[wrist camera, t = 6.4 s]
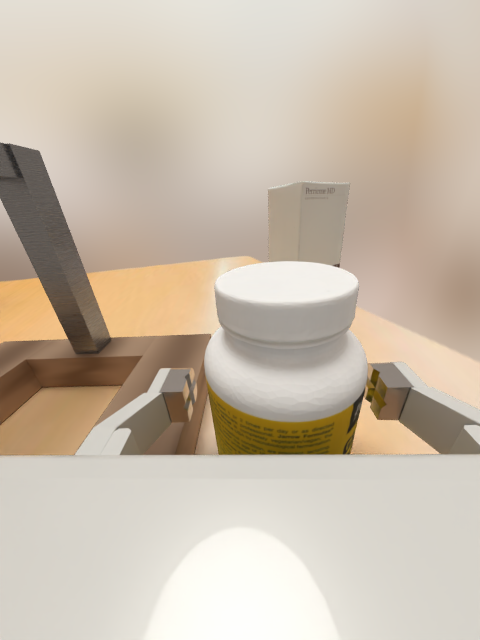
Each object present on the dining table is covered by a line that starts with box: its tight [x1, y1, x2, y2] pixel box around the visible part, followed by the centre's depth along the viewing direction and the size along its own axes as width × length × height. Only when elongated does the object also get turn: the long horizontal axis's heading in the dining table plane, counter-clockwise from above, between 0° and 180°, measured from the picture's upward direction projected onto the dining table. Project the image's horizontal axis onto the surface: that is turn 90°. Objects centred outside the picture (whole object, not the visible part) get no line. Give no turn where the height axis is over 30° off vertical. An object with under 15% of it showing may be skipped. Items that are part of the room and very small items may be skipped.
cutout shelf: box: [0, 334, 211, 455], centre depth 16 cm, size 20×12×3 cm, turn 88°
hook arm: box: [0, 143, 112, 354], centre depth 13 cm, size 2×12×17 cm, turn 178°
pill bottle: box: [204, 261, 368, 455], centre depth 10 cm, size 6×6×11 cm
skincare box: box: [268, 181, 350, 268], centre depth 30 cm, size 8×6×15 cm
